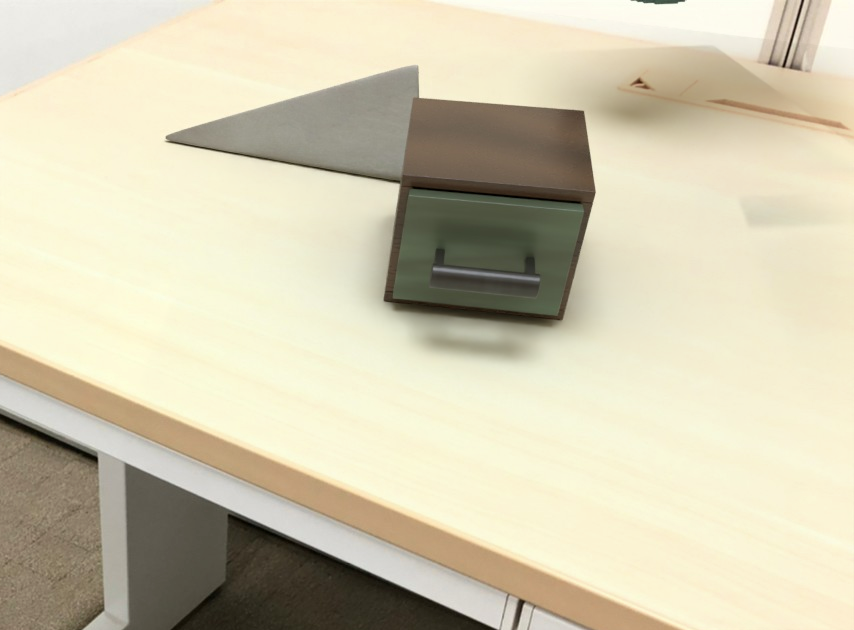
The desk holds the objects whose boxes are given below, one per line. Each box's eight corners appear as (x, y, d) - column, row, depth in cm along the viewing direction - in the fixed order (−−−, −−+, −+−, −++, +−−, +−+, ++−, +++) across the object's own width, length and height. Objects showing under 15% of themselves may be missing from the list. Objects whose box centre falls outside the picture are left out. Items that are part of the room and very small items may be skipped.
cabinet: (562, 320, 88) (596, 191, 82) (383, 301, 90) (402, 174, 84) (555, 229, 99) (584, 110, 93) (395, 214, 101) (413, 97, 95)
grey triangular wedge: (152, 177, 106) (423, 143, 100) (153, 99, 108) (418, 61, 103) (175, 241, 115) (424, 213, 110) (176, 167, 118) (420, 136, 112)
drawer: (559, 347, 84) (587, 240, 79) (388, 328, 86) (405, 223, 81) (551, 231, 97) (574, 133, 92) (402, 217, 99) (417, 120, 94)
